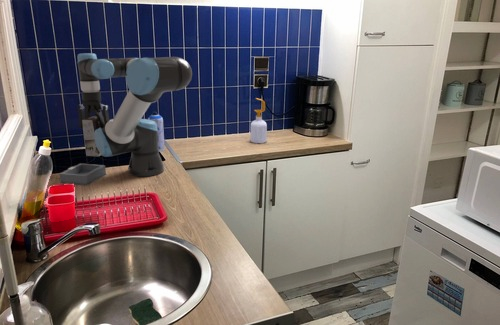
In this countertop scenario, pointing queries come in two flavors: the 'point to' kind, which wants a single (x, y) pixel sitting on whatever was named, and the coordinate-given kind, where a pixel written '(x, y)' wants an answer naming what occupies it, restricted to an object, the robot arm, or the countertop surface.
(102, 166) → the pocket tray
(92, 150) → the coffee box
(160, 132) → the aerosol can
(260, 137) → the soap bottle
